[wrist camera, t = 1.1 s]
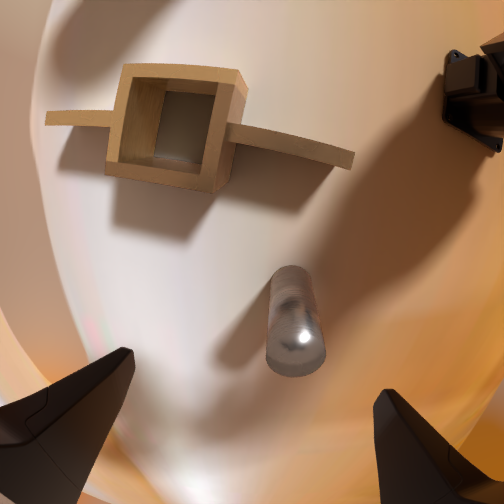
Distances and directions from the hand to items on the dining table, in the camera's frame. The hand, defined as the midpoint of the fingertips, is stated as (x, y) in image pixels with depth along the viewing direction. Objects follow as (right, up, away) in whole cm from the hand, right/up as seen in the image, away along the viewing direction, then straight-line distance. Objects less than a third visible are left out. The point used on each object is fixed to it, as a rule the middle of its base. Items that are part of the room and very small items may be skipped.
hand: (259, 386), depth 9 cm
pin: (+3, +2, +12) cm, 13 cm away
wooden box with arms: (-4, +13, +9) cm, 16 cm away
